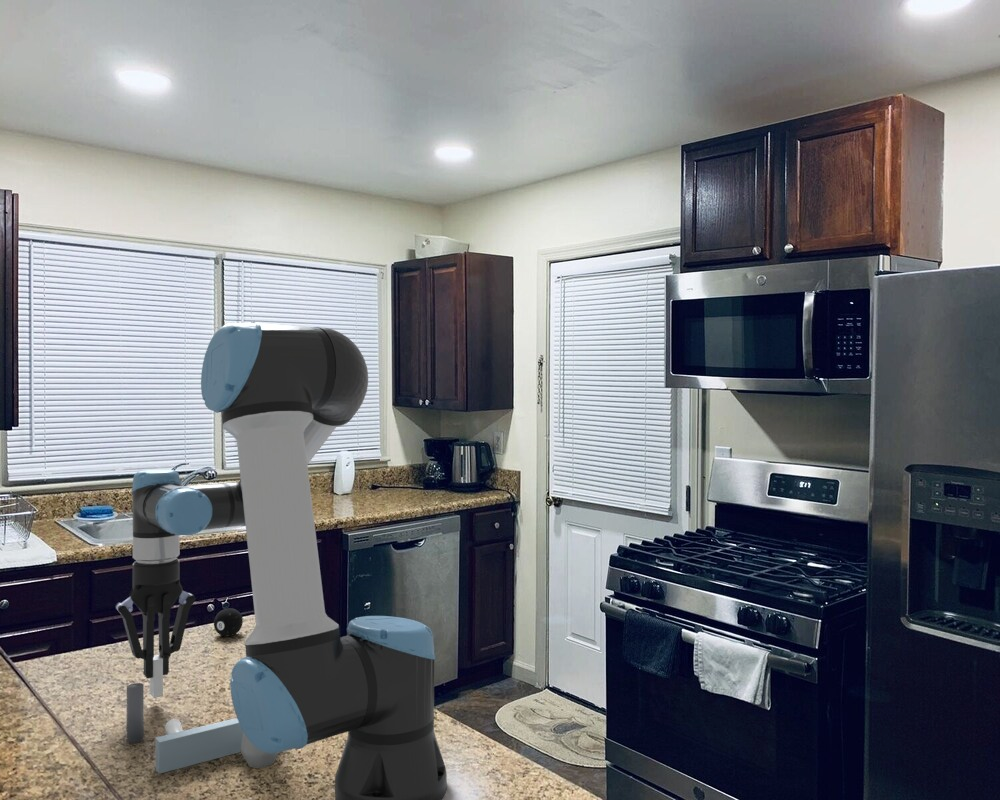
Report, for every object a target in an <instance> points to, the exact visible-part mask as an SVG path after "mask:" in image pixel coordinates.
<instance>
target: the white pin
mask: <svg viewBox="0 0 1000 800" xmlns="http://www.w3.org/2000/svg"><path fill="white" fill-rule="evenodd" d="M164 730H165V735H168V734H172V733H176V732H181V731H184V729H183V726H182V723H181V721H180V720H179V719H177V718H172V719H169V720H168V721H167V722H166V724H165V725H164Z"/></svg>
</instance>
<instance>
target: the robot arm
mask: <svg viewBox="0 0 1000 800" xmlns="http://www.w3.org/2000/svg"><path fill="white" fill-rule="evenodd" d="M200 374H201V376H200V377H201V378H200V388H201V389H200V390H201V397H202V400H203V401H204V406H205V407H206V408H207V409H208V410H210V411H211V412H212V411H213V412H214V413H215V414H216V413H217V414H218V413H221V419H222V420H221V421H222V428H223V430H224V431H226V432H227V433H228V434H230V435H232V437H233V438H234V440H236V446H237V457H238V465H239V466H238V467H239V476H240V477H239V478H240V479H239V481H235V482H226V483H225V482H223V483H221V482H220V483H215V484H214V483H211V484H209V483H208V484H196V485H181V480H180V474H179V472H178V471H177V470H174V469H146V470H140V471H137V472H136V473H135V474H134V475H133V477H132V490H131V491H130V493H131V496H132V498H131V499H132V559H133V560H135V561H134V562H133V563H132V588H131V590H130V592H129V597H127V598H126V599H125V600H123V601H122V602H117V603H116V604H115V610H117V611H118V613H119V614H120V615H121V618H122V621H123V625H124V628H125V629H124V630H125V632H126V637H127V640H128V643H129V646H130V651H131V654H132V655H133V656H134V657H135V658H136V659H138V660H139V659H141V660H142V659H143V675H144V677H145V678H146V679H149V695H150V696H151V697H152V698H153V699H157V698H160V697H161V698H162V697H163V696H164V676H167V675H168V674H169V672H170V657H171V655H172V654H174V653H175V652H179V651H180V649H181V646H182V642H183V638H184V634H185V630H186V626H187V622H188V618H189V613H190V609H191V608H192V606H193V604H195V603H194V602H195V601H196V599H197V598H196V596H195V595H194V594H193V593H191V592H187V591H184V590H183V586H182V584H181V581H180V572H181V571H180V560H179V558H178V557H179V556H180V555H181V554H180V553H181V552H180V548H181V547H180V536H187V537H188V536H193V535H197V534H198V533H201V532H202V531H205V530H214V529H223V528H229V527H230V528H231V527H238V526H239V527H240V526H245V533H246V543H247V544H246V545H247V552H248V553H247V554H248V561H249V563H248V564H249V570H250V571H249V572H250V581H251V590H252V599H253V600H252V601H253V610H254V611H253V612H254V620H255V626H254V628H253V630H252V632H250V634H249V635H248V637H247V638H246V639H245V641H244V648H245V657H242V658H240V660H238V661H237V662H236V663H235V664H234V665H233V667H232V669H231V673H230V674H231V678H230V679H229V680H230V681H229V682H230V683H229V685H230V695H231V701H232V707H233V709H234V713H235V715H236V718H237V719H238V721H239V724H240V726H241V728H242V730H243V732H244V733H245V734H246V736H247V738H248V739H249V741H250V742H251V743H252V744H253V745H254V746H255V747H256V748H258V749H259V750H261V751H263V752H265V753H271V754H273V753H278V754H279V753H282V752H286V751H290V750H293V749H294V750H295V749H296V750H300V749H303V748H304V747H306V746H307V745H310V744H313V743H316V742H319V741H322V740H326V739H329V738H332V737H334V736H338V735H341V734H344V733H347V739H346V742H345V745H344V748H343V751H342V753H341V757H340V759H339V764H338V766H337V770H336V773H335V777H334V798H335V800H442V798H443V799H444V797H445V794H446V792H447V787H448V786H447V784H448V783H447V782H448V781H447V780H448V779H447V778H448V777H447V774H448V773H447V768H446V765H445V762H444V759H443V756H442V753H441V749H440V746H439V743H438V740H437V737H436V733H435V660H436V654H435V644H434V634H433V632H432V630H431V628H430V627H429V626H428V625H426V624H424V623H422V622H421V621H417V620H414V619H411V618H410V619H409V618H405V617H397V616H388V615H365V616H359V617H355V618H353V619H351V620H350V621H349V622H348V626H347V628H346V632H347V633H348V634H347V635H344V636H342V637H341V632H340V625H339V623H337V622H336V621H335V620H333V619H332V618H331V617H329V615H327V613H326V609H325V600H324V592H323V584H322V582H323V581H322V575H321V569H320V568H321V567H320V558H319V550H318V543H317V533H316V525H315V517H314V516H315V515H314V508H313V499H312V492H311V483H310V476H309V475H310V473H309V467H308V466H309V465H308V464H309V463H310V462H311V460H313V458H314V457H315V455H317V453H318V452H319V450H320V449H321V448H322V447H323V445H324V444H325V443H326V441H327V440H328V439H329V437H330V436H331V435H332V434H333V433H334V431H335V430H336V428H338V427H342V426H344V425H347V424H348V423H349V422H350V421H351V420H352V419H353V417H354V416H355V415H356V414H357V412H358V411H359V410H360V408H361V406H362V405H363V403H364V401H365V400H364V399H365V398H366V395H367V393H368V388H369V387H368V385H369V370H368V365H367V363H366V360H365V357H364V355H363V354H362V352H361V351H360V349H359V347H358V346H357V345H356V344H355V343H354V342H353V341H352V340H351V339H350V338H349V337H347V335H345V334H344V333H341V332H340V331H337V330H335V329H334V328H333V329H332V328H329V327H321V326H314V327H312V326H311V327H310V326H301V325H300V326H299V325H285V324H272V323H260V322H258V321H252V322H247V323H246V322H243V323H242V322H233V323H227V324H225V325H222V326H221V327H220V328H219V329H217V331H216V332H215V333H214V334H213V336H212V337H211V340H210V341H209V342H208V345H207V348H206V350H205V353H204V357H203V362H202V366H201V373H200ZM177 601H178V603H179V605H178V608H177V611H176V614H175V615H176V616H175V619H174V624H173V625H174V626H173V628H172V632H171V633H170V631H171V630H170V627H171V626H170V624H171V623H170V619H171V610H172V608H173V607H174V605H175V604H176V602H177ZM133 605H135V607H137V608H138V610H139V611H140V612H141V613H142V615H141V616H142V645H141V642H140V639H139V635H138V630H137V627H136V624H135V619H134V616H133V615H132V612H133V610H134V608H133ZM156 614H157V615H158V653H159V654H155V620H156V617H155V616H156ZM170 634H171V636H170ZM170 637H171V638H170Z"/></svg>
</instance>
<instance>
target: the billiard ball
mask: <svg viewBox="0 0 1000 800" xmlns="http://www.w3.org/2000/svg"><path fill="white" fill-rule="evenodd" d="M243 619H244V618H243V615H242V614H241V612H240V611H239V610H237V609H236V608H232V607H231V608H229V607H228V608H224V609H222V610H220V611H218V613H217V614H216V616H215V617H214V619H213V620H214V621H213V626H214V627H213V628H214V630H215V632H216V633H217V634H218V635H220V636H223V637H231V636H234V635H236V634H237V633H240V630H241V628H242V627H243V623H244V622H243V621H244V620H243Z"/></svg>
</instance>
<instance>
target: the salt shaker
mask: <svg viewBox="0 0 1000 800" xmlns="http://www.w3.org/2000/svg"><path fill="white" fill-rule="evenodd" d="M240 753H241V755H242V757H243V758H244V760H245V762H246V763H247V765H248V767H249V768H256V769H263V768H267V767H269V766H272V765H273V764H274V763H275V761H276V759H277V757H278V755H279V753H273V754H271V753H265V752H263V751H261V750H259V749H258V748H256V747H255V746H254V745H253V744H252V743H251V742H250V741H249V739H248V738H247V736H246V734H245V733H244V732H243V738H242V743H241V752H240Z"/></svg>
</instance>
